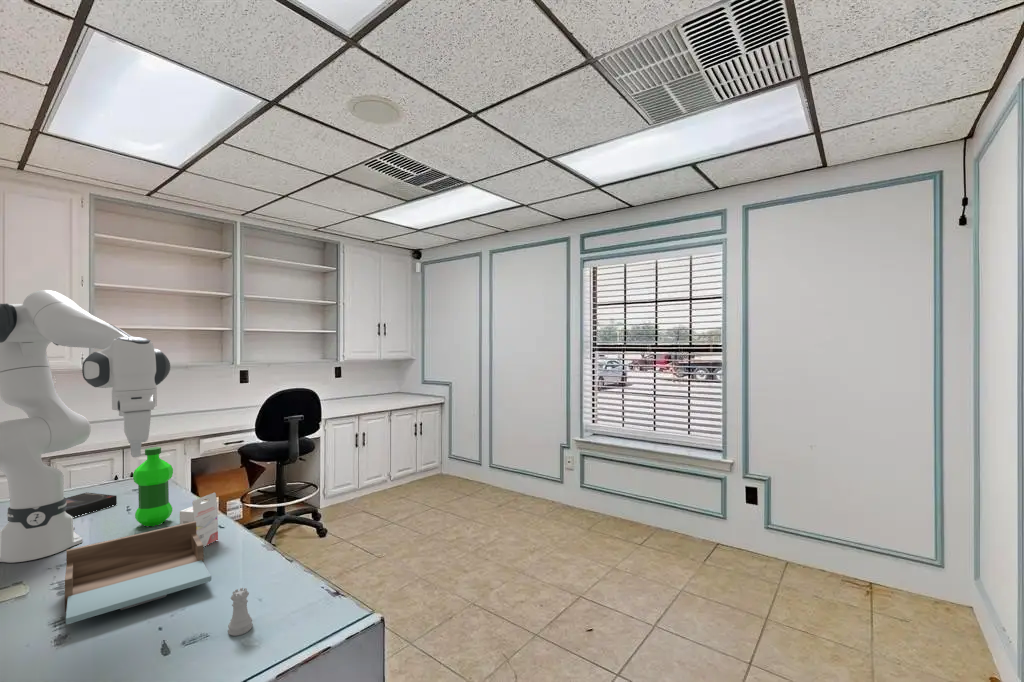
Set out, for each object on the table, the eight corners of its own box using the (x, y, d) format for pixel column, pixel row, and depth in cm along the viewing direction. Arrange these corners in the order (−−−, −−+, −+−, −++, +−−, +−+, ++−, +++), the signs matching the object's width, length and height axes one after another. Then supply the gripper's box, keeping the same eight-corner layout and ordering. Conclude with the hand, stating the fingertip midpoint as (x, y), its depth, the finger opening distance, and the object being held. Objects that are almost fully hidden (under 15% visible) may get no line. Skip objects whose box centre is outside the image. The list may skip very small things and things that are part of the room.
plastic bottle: (173, 524, 155) (172, 448, 155) (132, 532, 149) (131, 453, 149) (174, 515, 163) (173, 443, 164) (135, 522, 157) (134, 448, 158)
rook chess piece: (234, 624, 98) (233, 586, 98) (256, 623, 99) (256, 584, 99) (223, 637, 94) (222, 597, 94) (246, 636, 94) (246, 596, 94)
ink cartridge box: (204, 539, 142) (203, 491, 143) (218, 540, 142) (217, 491, 142) (179, 552, 134) (178, 500, 134) (194, 553, 133) (193, 501, 133)
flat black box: (29, 518, 165) (29, 507, 165) (86, 502, 181) (86, 492, 181) (61, 523, 160) (61, 511, 160) (116, 506, 176) (116, 495, 176)
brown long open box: (67, 591, 113) (66, 549, 113) (196, 557, 131) (195, 521, 131) (65, 612, 104) (64, 566, 104) (203, 572, 122) (203, 533, 122)
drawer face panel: (67, 596, 104) (65, 618, 95) (202, 560, 121) (210, 575, 112) (68, 605, 104) (65, 628, 95) (202, 568, 120) (211, 584, 112)
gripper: (116, 399, 124) (117, 451, 124) (120, 405, 109) (121, 465, 109) (146, 396, 128) (147, 447, 128) (154, 402, 113) (155, 460, 113)
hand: (135, 456), depth 118 cm, fingers closed
